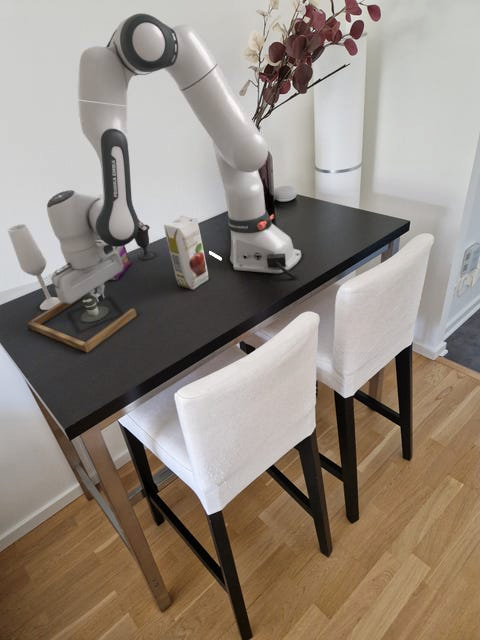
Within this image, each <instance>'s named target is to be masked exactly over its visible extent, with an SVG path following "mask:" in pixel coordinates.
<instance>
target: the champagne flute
mask: <svg viewBox="0 0 480 640" xmlns="http://www.w3.org/2000/svg"><path fill="white" fill-rule="evenodd" d="M7 233H8V235H9V238H10V241H11V243H12V246H13V250H14V252H15V256H16V258H17V261H18V263H19V266H20V269H21V270H22V271H23V273H26V274H28V275H31V276H34V277H36V278H37V281H38V283H39V285H40V287H41V289H42V291H43V293H44V296H45V300H44V301H43V302H42V303H41V304H40V305H39V309H40V310H43V311H47V310H49V309H50V308H52V307H54V306H55V305H57V304H59V303H60V302H61V301H60V300H59V298H58V296H57V297H56V296H51V295H50V292H49V289H48V288H47V286H46V283H45V281H44V278H43V277H42V274H43V273H44V271H45V269H46V267H47V260H46V258H45V256H44V255H43V253H42V251H41V249H40V247H39V244H37V242H36V240H35V238H34V237H33V235H32V233H31V231H30V229H29V228H28V225H27V224H25V223H21V224H16V225H12V226H11V227H8V229H7Z"/></svg>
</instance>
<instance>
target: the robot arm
mask: <svg viewBox="0 0 480 640" xmlns="http://www.w3.org/2000/svg"><path fill="white" fill-rule="evenodd" d="M160 70H164V71H165V72H166V73H168V74H169V76H170V77H171V78H172V79H173V81H174V83H175V85H176V86H177V88H178V90H179V91H180V94H182V96H183V98H184V99H185V101H186V103H187V105H188V106H189V107H190V109H191V111H192V112H193V114H194V115H195V117H196V118H197V120H198V121H199V123H200V124H201V126H202V127H203V128H204V130H205V131H206V133H207V134H208V135H209V137H210V138H211V140H212V141H211V142H212V146H213V149H214V153H215V159H216V163H217V167H218V171H219V174H220V175H219V176H220V178H221V182H222V186H223V189H224V195H225V201H226V207H227V208H226V209H227V214H228V215H227V225H228V229H229V230H230V231H229V232H230V256H229V261H230V263H231V264H232V265H233V270H235V271H244V272H256V273H266V274H268V273H269V274H282V273H284V274H286V275H287V276H288V277H290V278H292V279H294V280H295V279H297V275H296V274H294V273H292V272H291V271H289V270H290V269H292V268H293V267H294V266H296V265H297V264H298V263H299V261H300V260H301V258H302V252H301V250H300V249H296V248H294V245H293V241H292V239H291V237H290V236H289V235H288V234H287V233H285V232H284V231H283V230H282V229H280V228H278V227H277V226H276V225H275V224H274V223H273V221H272V220H273V219H274V218H275V215H274V213H272V214H271V215H269V212H268V210H267V209H266V203H265V201H266V200H265V191H264V185H263V181H262V179H261V176H260V173H259V170H260V169H262V167H263V166H264V165H265V163H266V161H267V160H268V159H267V158H268V156H269V148H268V144H267V142H266V139H265V138H264V137H263V135H262V134H261V133H260V131H259V129H258V127H257V126H256V124H255V123H254V121H253V119H252V117H251V116H250V115H249V113H248V112H247V110H246V109H245V107H244V106H243V105H242V102H240V100H239V99H238V97H237V96H236V94H235V93H234V90H233V89H232V86H231V85H230V84H229V82H228V80H227V78H226V76H225V75H224V73H223V71H222V69H221V67H220V65H219V64H218V62H217V60H216V58H215V56H214V55H213V53H212V52H211V50H210V48H209V47H208V45H207V43H205V41H204V40H203V38H202V37H201V36H200V35H199V33H198V32H197V31H196V29H194V27H192V26H191V25H188V24H180V25H175V26H173V27H171V26H169V25H168V24H165V23H164V22H162V21H161V20H160V19H158V18H157V17H155V16H153V15H151V14H148V13H135V14H133V15H131V16H129V17H127V18H125V19H124V20H122V21H121V22H120V23H119V24H118V26H117V27H116V29H115V31H114V32H113V33H112V35H111V37H110V40H109V41H108V43H107V45H106V46H100V45H98V46H97V45H96V46H91V47H88V48H86V49H84V51H83V52H82V53H81V54H80V58H79V65H78V73H77V74H78V75H77V110H78V111H77V112H78V119H79V123H80V127H81V131H82V134H83V135H84V137H85V138H86V139H87V141H88V142H89V144H90V145H91V146H92V148H93V150H94V151H95V153H96V155H97V157H98V160H99V163H100V169H101V180H102V181H101V182H102V194H85V193H81V192H77V191H75V190H72V189H71V190H70V189H69V190H65V191H61V192H58V193H57V194H55V195H53V196H52V197H51V198H50V199H49V200H48V202H47V204H46V213H47V216H48V220H49V223H50V226H51V229H52V231H53V233H54V236H55V237H56V239H57V240H58V242H59V245H60V251H61V253H62V256H63V259H64V260H65V263H66V264H64V265H63V266H61V267H60V268H58V269H56V270H54V272H53V274H52V275H51V278H50V279H51V282H52V285H53V287H54V289H55V292H56V296H57V297H58V298H59V300H60V301H61V302H63V303H66V304H71V303H73V302H75V301H76V300H78V299H79V298H81V297H82V298H83V297H84V296H85V295H88V296H89V297H94V298H95V299H96V304H98V303H99V302H101V301H102V300H104V299H105V298H106V296H105V293H104V292H105V283H106V282H107V281H110V280H109V279H111V278H112V277H114V276H115V275H117V274H118V273H120V272H122V271H123V267H124V266H123V262H122V260H121V257H120V255H119V253H118V252H117V251H116V250H115V249H116V247H119V246H124V245H125V246H126V245H128V244H130V243H131V242H132V241H134V240H135V239H134V238H135V236H136V235H137V233H138V229H139V221H140V220H139V221H138V219H139V217H138V215H137V213H136V210H135V207H134V204H133V199H132V183H131V182H132V181H131V180H132V179H131V166H130V153H129V139H128V118H129V117H128V116H129V115H128V114H129V113H128V110H129V109H128V90H129V85H130V81H131V80H132V79H133V77H135V76H146V75H149V74H152V73H154V72H158V71H160ZM97 236H100V238H101V239H102V240H95V238H96V237H97ZM209 255H211V256H213V257H214V258H216V259H218V260H219V261H222V257H221V256H219V255H217V254H216V253H214V252H212V251H210V250H209ZM95 289H97V291H95ZM95 292H96V293H95ZM78 301H79V300H78ZM75 303H76V302H75Z"/></svg>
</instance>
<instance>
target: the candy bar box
mask: <svg viewBox="0 0 480 640" xmlns="http://www.w3.org/2000/svg"><path fill="white" fill-rule="evenodd" d="M95 240H102V239H101V238H100V236H97V237H96V238H95ZM115 250H116V251H117V252H118V253H119V255H120V257H121V260H122V262H123V266H124V267H123V271H122V272H120V273H118V274H117V275H115V276H114V277H112V278H111V279H109V280H108V281H117V280H118V279H119V278H120V277H121V276H122V275H123V274H124V272H125V271H126V269H127V268H128V267H129V266H130V265H131V261H130V258H129V254H128V252H127V249H126V245H124V246H119V247H116V249H115Z"/></svg>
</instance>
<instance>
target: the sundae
mask: <svg viewBox="0 0 480 640" xmlns="http://www.w3.org/2000/svg"><path fill="white" fill-rule="evenodd" d="M138 221H139V229H138V233H137V235H136V236H135V238H134V239H133V240H134V241H135V244H136V245H137V247H140V248H142V250H143V254H141V255H140V256H139V259H140V260H142V261H149V260H151V259H153V258H154V257H155V254H154V253H153V252H149V251H148V248H147V247H148V246H149V244H150V237H149V230H150V228H151V227H150V226H149V225H148V224H145V223H143V222H142V221H141V220H140V219H139V218H138Z"/></svg>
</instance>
